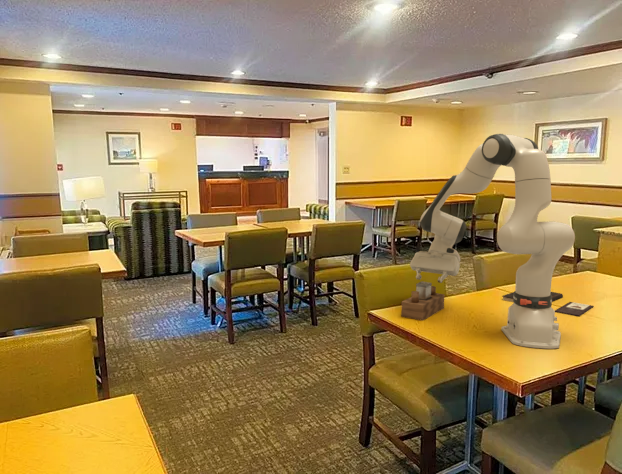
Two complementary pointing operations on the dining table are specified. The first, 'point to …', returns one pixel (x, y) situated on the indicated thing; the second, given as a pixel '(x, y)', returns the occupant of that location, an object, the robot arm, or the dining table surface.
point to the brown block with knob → (422, 305)
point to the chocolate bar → (574, 309)
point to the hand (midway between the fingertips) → (428, 280)
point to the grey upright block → (424, 290)
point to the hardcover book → (554, 295)
